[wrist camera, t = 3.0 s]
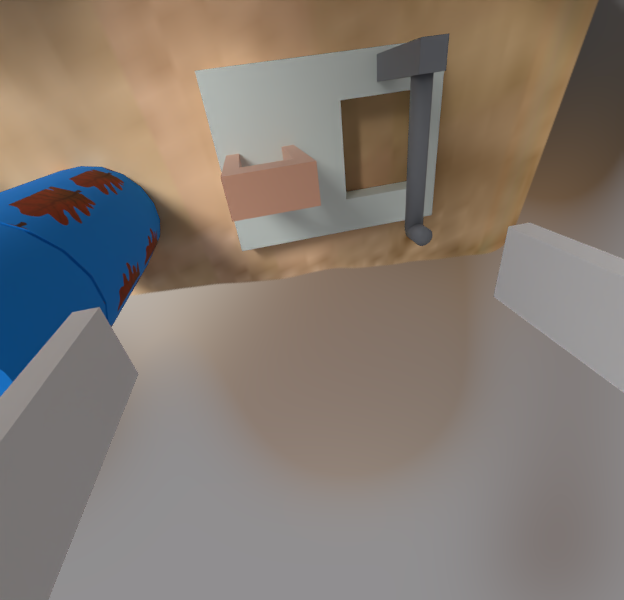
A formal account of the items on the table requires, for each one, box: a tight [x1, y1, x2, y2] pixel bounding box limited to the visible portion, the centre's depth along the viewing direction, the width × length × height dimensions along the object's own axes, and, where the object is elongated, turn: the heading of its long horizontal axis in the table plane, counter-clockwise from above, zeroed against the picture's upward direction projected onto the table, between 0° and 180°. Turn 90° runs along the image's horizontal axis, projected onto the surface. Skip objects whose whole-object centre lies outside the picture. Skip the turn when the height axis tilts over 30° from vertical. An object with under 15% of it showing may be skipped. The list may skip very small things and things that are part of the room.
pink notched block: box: [221, 145, 321, 222], centre depth 26 cm, size 6×3×10 cm, turn 97°
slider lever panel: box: [195, 34, 449, 251], centre depth 29 cm, size 22×16×12 cm
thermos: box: [0, 166, 160, 397], centre depth 22 cm, size 11×11×25 cm
